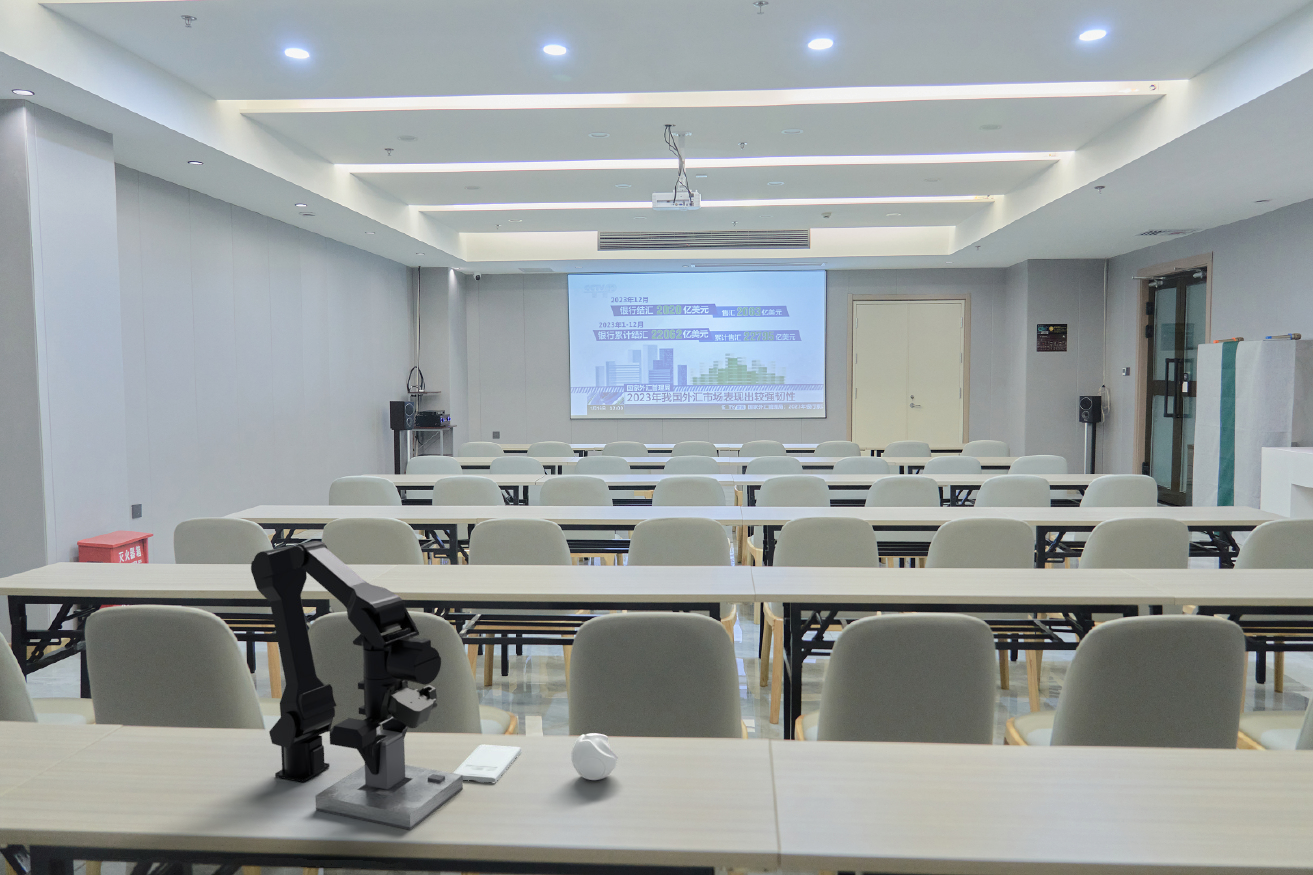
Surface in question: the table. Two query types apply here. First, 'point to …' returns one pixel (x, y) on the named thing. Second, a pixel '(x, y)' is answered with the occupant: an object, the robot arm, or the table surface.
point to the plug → (388, 762)
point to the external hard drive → (487, 763)
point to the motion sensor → (593, 756)
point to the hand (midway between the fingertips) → (384, 767)
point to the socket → (391, 797)
